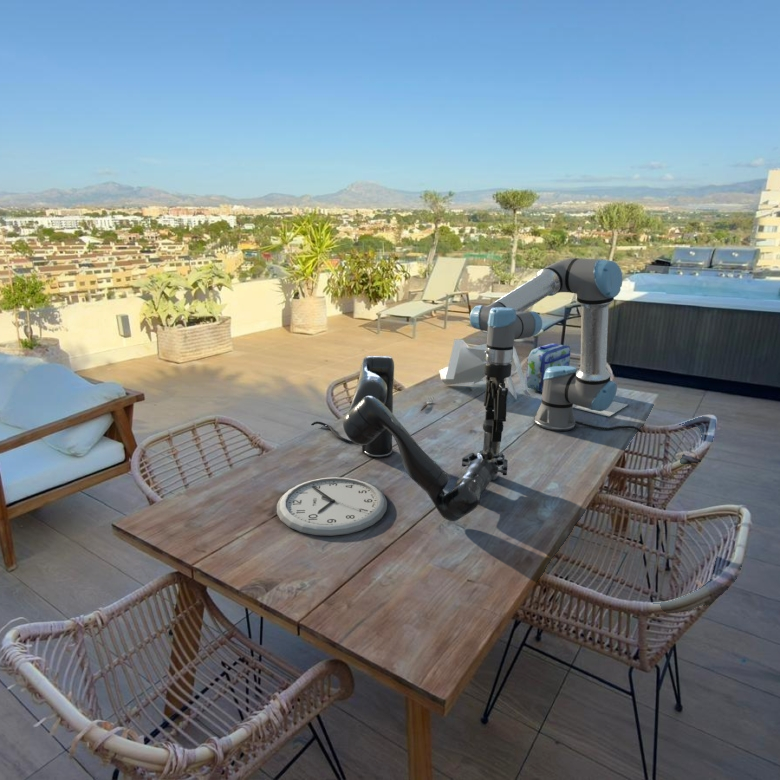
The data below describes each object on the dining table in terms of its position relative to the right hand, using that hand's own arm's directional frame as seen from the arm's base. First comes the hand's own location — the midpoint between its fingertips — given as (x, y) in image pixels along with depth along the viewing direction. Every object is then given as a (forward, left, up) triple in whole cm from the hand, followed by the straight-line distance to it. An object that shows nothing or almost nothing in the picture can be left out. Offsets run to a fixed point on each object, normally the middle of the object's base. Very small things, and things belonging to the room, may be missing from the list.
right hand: (492, 436), depth 157 cm
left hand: (-1, -2, -7) cm, 8 cm away
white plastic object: (-1, -87, -13) cm, 88 cm away
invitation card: (-52, -75, -13) cm, 92 cm away
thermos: (0, 0, -13) cm, 13 cm away
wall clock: (+44, +24, -13) cm, 52 cm away
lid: (0, 0, +4) cm, 4 cm away
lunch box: (-33, -100, -13) cm, 106 cm away
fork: (+23, -63, -13) cm, 68 cm away
